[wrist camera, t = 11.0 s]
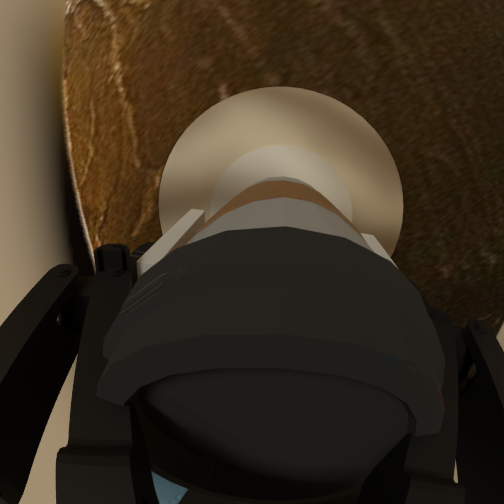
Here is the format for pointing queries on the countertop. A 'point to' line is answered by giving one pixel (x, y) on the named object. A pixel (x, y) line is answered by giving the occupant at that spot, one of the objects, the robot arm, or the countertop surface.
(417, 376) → the coffee cup
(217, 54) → the countertop surface
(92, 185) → the countertop surface
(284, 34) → the countertop surface
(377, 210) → the cream round saucer
